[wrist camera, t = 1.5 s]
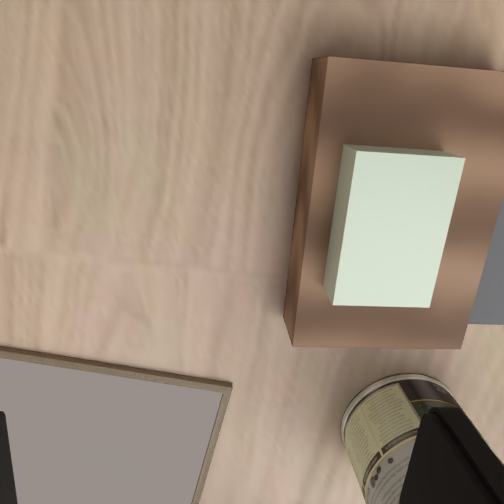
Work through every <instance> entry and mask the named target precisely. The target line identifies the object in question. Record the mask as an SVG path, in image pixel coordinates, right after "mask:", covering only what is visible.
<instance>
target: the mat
mask: <svg viewBox="0 0 504 504" xmlns="http://www.w3.org/2000/svg"><path fill="white" fill-rule="evenodd" d="M468 324H497V325H504V196H503V200H502V203H501V207H500V210H499V214H498V217H497V221H496V225H495V228H494V232H493V235H492V239H491V243H490V246H489V250H488V253H487V257H486V260H485V264H484V268H483V271H482V275H481V278H480V282H479V285H478V289H477V293H476V296H475V300H474V303H473V307H472V311H471V314H470V318H469V321H468Z"/></svg>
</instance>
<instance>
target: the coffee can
mask: <svg viewBox="0 0 504 504" xmlns="http://www.w3.org/2000/svg"><path fill="white" fill-rule="evenodd" d="M431 407H458V408H460V409H461V410H462V408H461V407H460V406H459V404H458V403H457V402H456V400H455V399H454V397H453V395H452V394H451V392H450V391H449V390H448V388H446V387H445V386H444V385H443V384H442V383H440V382H439V381H437V380H435V379H433V378H431V377H428V376H424V375H419V374H400V375H394V376H390V377H387V378H384V379H382V380H379V381H377V382H375V383H373V384H371V385H370V386H368V387H367V388H365V389H364V390H363V391H362V392H360V393H359V394H358V395H357V396H356V397H355V398H354V399H353V400H352V402H351V403H350V405H349V407H348V408H347V410H346V412H345V414H344V416H343V420H342V425H341V436H342V441H343V444H344V447H345V448H346V450H347V452H348V455H349V457H350V460H351V463H352V466H353V468H354V471H355V474H356V477H357V480H358V482H359V485H360V488H361V491H362V493H363V496H364V499H365V502H366V504H399V498H400V494H401V490H402V487H403V483H404V480H405V476H406V472H407V469H408V465H409V461H410V458H411V454H412V450H413V447H414V443H415V439H416V436H417V432H418V429H419V425H420V421H421V418H422V416H423V414H425V413H428V412H429V409H430V408H431ZM462 411H463V410H462ZM463 413H464V414H465V412H464V411H463ZM465 415H466V414H465ZM466 417H467V418H468V416H467V415H466ZM468 419H469V418H468ZM469 421H470V422H471V420H470V419H469ZM471 423H472V422H471ZM472 425H473V426H474V424H473V423H472ZM474 427H475V426H474ZM475 429H476V430H477V428H476V427H475ZM477 431H478V430H477ZM478 433H479V434H480V432H479V431H478ZM480 435H481V434H480ZM481 437H482V438H483V436H482V435H481ZM483 439H484V438H483ZM484 441H485V442H486V440H485V439H484ZM486 443H487V442H486ZM487 445H488V446H489V444H488V443H487ZM489 447H490V446H489ZM490 449H491V450H492V451H493V449H492V448H491V447H490ZM493 453H494V454H495V455H496V453H495V452H494V451H493ZM496 457H497V458H498V459H499V457H498V456H497V455H496ZM499 461H500V462H501V463H502V461H501V460H500V459H499ZM502 465H503V466H504V464H503V463H502Z"/></svg>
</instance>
